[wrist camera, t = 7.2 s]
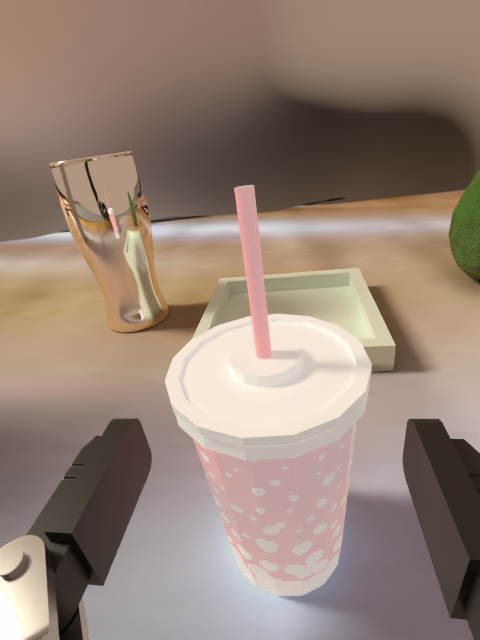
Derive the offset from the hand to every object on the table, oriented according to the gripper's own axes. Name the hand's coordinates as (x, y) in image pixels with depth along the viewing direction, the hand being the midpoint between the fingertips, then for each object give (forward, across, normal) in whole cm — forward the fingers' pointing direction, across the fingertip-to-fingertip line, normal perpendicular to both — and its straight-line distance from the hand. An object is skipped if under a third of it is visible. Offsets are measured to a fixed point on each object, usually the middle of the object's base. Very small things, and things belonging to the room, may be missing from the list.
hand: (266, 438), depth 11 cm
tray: (+19, 0, +7) cm, 20 cm away
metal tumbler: (+22, +15, +7) cm, 28 cm away
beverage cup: (+1, 0, +7) cm, 7 cm away
